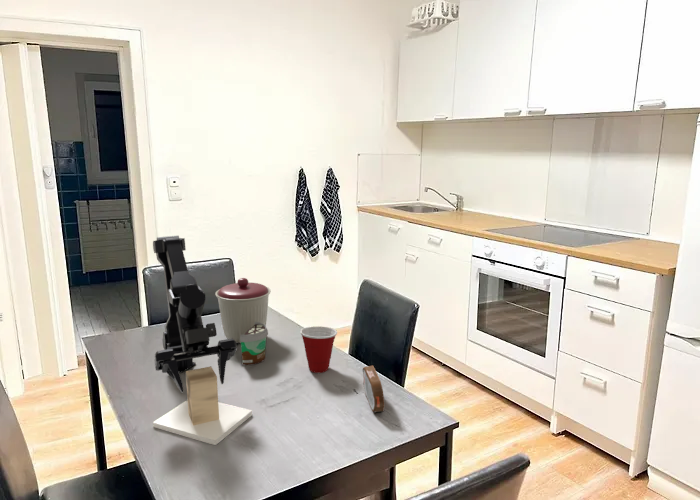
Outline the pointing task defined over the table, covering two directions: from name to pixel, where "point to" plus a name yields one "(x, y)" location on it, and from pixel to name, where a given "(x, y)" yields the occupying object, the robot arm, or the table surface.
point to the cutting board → (205, 432)
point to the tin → (373, 389)
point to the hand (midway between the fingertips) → (202, 387)
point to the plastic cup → (318, 347)
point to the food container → (254, 344)
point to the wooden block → (202, 395)
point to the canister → (242, 307)
